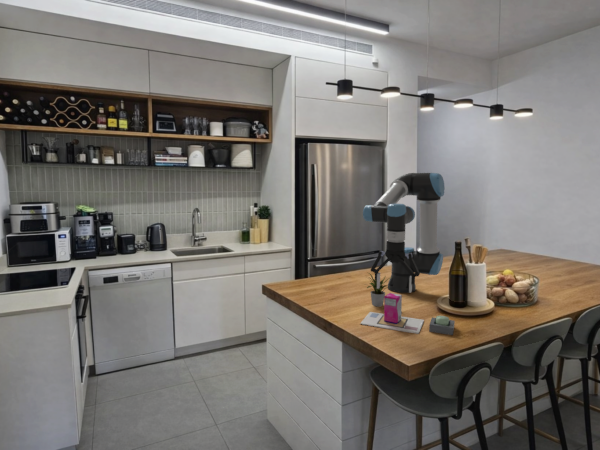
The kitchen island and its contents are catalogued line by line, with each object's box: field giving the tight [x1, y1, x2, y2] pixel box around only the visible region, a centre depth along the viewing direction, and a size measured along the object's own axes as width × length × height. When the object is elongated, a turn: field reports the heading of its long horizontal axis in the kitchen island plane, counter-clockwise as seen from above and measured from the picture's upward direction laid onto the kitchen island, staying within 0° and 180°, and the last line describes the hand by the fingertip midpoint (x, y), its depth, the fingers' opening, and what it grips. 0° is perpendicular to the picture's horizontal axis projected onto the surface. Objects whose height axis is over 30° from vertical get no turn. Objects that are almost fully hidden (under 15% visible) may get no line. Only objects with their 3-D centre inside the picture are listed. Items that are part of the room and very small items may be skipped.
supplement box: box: [383, 292, 403, 324], centre depth 172 cm, size 6×6×12 cm
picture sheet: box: [359, 311, 425, 335], centre depth 172 cm, size 16×24×1 cm, turn 66°
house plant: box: [364, 272, 392, 307], centre depth 195 cm, size 14×14×16 cm
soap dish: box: [428, 317, 456, 336], centre depth 165 cm, size 9×9×3 cm
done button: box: [435, 315, 450, 326], centre depth 164 cm, size 5×5×4 cm
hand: (394, 289), depth 171 cm, fingers open, 13 cm apart
